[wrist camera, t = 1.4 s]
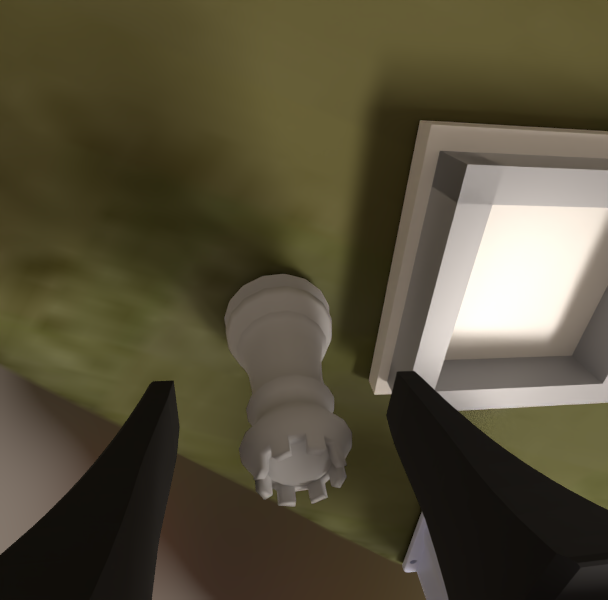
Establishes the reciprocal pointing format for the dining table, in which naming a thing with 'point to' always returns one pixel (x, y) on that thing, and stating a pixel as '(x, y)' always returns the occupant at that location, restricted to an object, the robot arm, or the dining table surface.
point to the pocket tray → (501, 268)
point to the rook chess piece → (287, 388)
